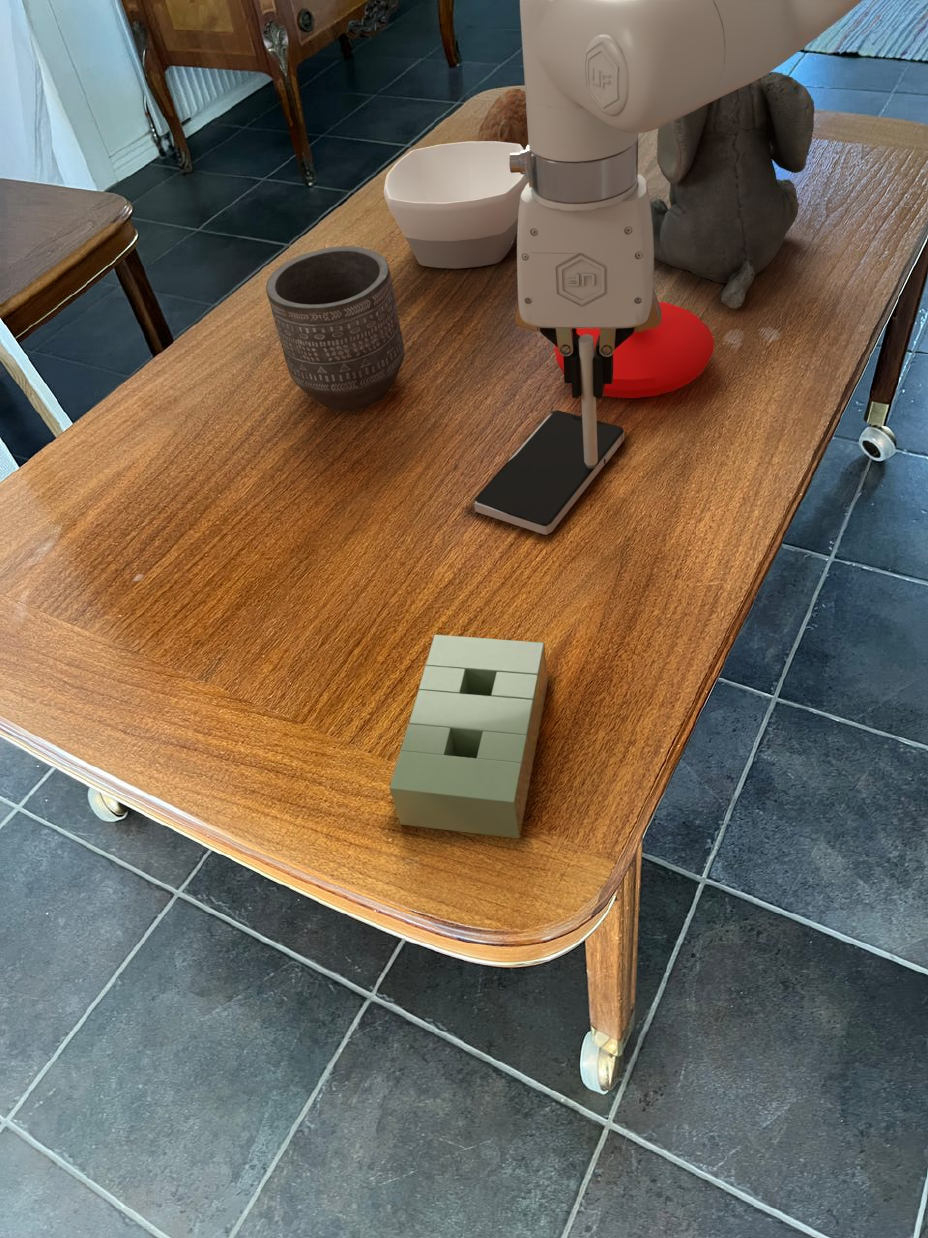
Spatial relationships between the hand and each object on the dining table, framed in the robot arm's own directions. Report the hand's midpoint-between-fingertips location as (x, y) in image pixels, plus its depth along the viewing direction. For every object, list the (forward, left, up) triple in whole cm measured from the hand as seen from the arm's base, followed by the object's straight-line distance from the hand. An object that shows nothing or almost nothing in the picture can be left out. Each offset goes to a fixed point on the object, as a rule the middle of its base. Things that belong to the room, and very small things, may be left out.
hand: (589, 387), depth 81 cm
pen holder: (+5, +31, -9) cm, 33 cm away
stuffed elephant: (-10, -41, -10) cm, 43 cm away
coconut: (+19, -65, -10) cm, 69 cm away
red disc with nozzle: (-2, -17, -10) cm, 20 cm away
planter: (+27, -13, -10) cm, 31 cm away
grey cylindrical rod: (0, 0, -9) cm, 9 cm away
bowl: (+21, -44, -10) cm, 50 cm away
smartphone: (+4, 0, -10) cm, 10 cm away
